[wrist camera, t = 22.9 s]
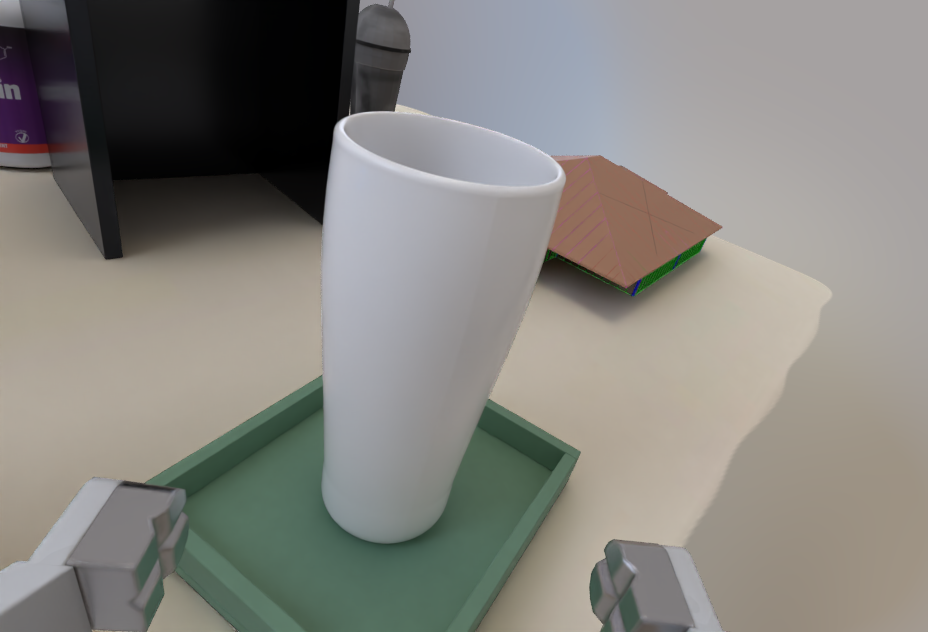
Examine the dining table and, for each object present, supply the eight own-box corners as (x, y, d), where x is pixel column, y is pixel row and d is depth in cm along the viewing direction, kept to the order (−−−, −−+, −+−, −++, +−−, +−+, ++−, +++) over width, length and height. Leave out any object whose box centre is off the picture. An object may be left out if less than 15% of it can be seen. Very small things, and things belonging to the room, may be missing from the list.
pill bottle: (-70, 156, 41) (-141, -72, 33) (14, 132, 47) (-30, -61, 40) (38, 180, 41) (-9, -40, 34) (105, 153, 48) (79, -34, 40)
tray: (387, 773, 15) (398, 743, 14) (131, 531, 20) (125, 493, 19) (567, 481, 26) (581, 451, 25) (378, 366, 31) (383, 337, 30)
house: (716, 248, 62) (750, 181, 58) (584, 342, 38) (626, 239, 34) (552, 178, 72) (571, 116, 68) (369, 216, 48) (380, 126, 44)
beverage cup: (338, 131, 70) (353, -51, 59) (393, 139, 72) (417, -34, 62) (340, 147, 64) (358, -50, 53) (400, 156, 66) (428, -32, 56)
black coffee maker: (338, 228, 45) (370, -103, 33) (105, 259, 34) (29, -220, 22) (263, 169, 53) (267, -117, 41) (53, 179, 42) (-23, -209, 30)
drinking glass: (415, 602, 19) (528, 214, 11) (265, 513, 21) (274, 123, 13) (485, 478, 25) (593, 160, 17) (362, 416, 26) (409, 101, 19)
